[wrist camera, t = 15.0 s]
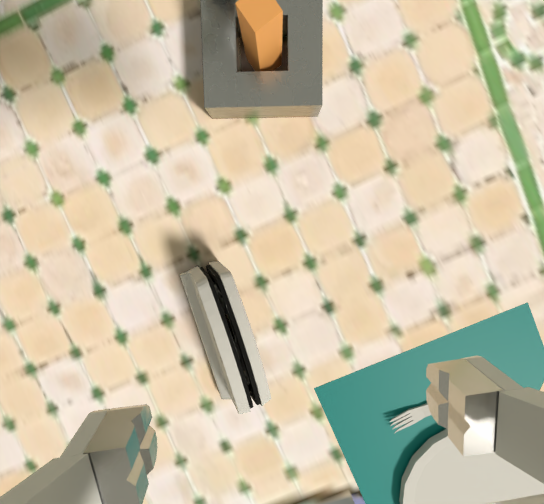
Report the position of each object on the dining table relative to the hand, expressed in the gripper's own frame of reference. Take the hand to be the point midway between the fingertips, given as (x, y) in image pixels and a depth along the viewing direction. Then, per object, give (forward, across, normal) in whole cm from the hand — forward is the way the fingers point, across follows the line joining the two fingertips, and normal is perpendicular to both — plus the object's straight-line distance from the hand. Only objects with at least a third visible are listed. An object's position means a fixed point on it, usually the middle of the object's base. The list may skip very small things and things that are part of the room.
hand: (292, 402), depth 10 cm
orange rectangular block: (+32, -3, -19) cm, 38 cm away
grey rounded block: (+30, +5, +11) cm, 32 cm away
